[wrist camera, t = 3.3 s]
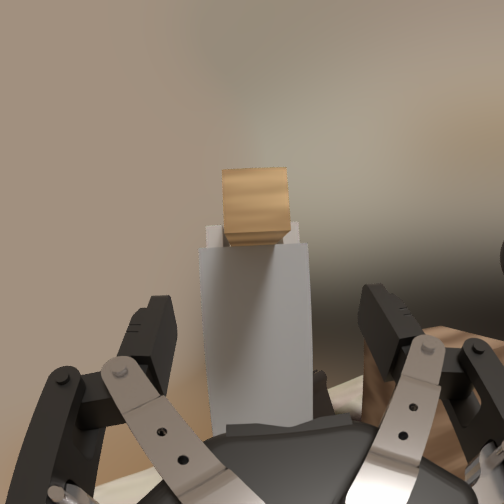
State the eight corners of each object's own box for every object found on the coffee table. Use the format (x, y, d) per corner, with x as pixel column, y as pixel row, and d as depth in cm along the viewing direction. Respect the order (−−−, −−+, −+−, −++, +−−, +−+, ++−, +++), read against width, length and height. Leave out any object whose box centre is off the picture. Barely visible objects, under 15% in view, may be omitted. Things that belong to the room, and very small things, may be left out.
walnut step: (353, 496, 30) (364, 338, 31) (420, 477, 30) (440, 325, 31) (383, 556, 18) (421, 369, 19) (463, 524, 18) (510, 343, 19)
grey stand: (229, 463, 41) (212, 241, 43) (293, 459, 41) (286, 237, 43) (224, 520, 27) (197, 226, 29) (309, 514, 27) (306, 221, 29)
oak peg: (235, 255, 45) (234, 227, 45) (264, 254, 45) (262, 225, 45) (224, 233, 19) (221, 169, 19) (290, 230, 19) (286, 166, 20)
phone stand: (340, 433, 48) (342, 372, 49) (322, 448, 44) (323, 384, 44) (299, 423, 54) (298, 366, 55) (279, 435, 50) (277, 375, 51)
